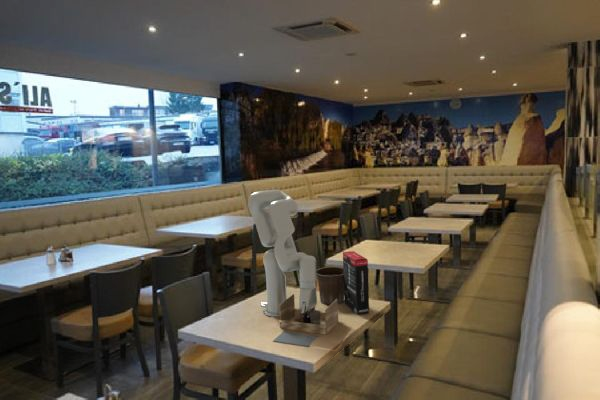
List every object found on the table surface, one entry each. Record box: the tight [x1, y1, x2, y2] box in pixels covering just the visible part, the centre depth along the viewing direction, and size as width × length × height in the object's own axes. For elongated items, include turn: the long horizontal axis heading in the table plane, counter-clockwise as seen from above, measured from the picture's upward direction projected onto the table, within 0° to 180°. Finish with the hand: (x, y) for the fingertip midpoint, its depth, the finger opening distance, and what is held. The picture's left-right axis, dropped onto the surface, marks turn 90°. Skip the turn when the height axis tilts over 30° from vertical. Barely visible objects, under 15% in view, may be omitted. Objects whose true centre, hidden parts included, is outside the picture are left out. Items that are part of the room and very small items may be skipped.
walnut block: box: [295, 309, 321, 325], centre depth 205 cm, size 10×5×6 cm, turn 67°
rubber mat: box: [272, 331, 318, 348], centre depth 191 cm, size 16×10×1 cm, turn 67°
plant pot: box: [316, 266, 345, 306], centre depth 234 cm, size 16×16×16 cm
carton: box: [278, 294, 340, 335], centre depth 204 cm, size 22×18×11 cm
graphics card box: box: [342, 250, 370, 316], centre depth 221 cm, size 17×7×27 cm, turn 17°
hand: (309, 322), depth 205 cm, fingers closed on walnut block, 5 cm apart
